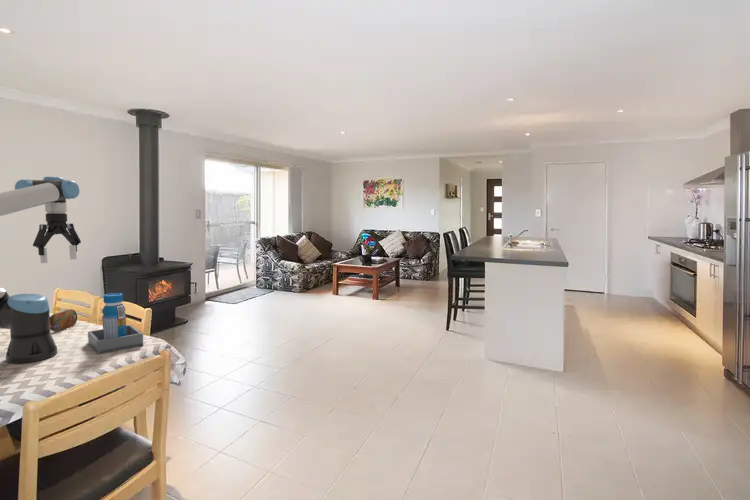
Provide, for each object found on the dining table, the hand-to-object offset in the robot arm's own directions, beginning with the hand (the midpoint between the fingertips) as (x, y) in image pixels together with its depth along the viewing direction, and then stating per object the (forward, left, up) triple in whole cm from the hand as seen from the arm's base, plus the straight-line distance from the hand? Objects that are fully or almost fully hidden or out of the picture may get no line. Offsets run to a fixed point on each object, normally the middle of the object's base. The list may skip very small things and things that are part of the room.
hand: (59, 261), depth 186 cm
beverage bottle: (-16, -31, -32) cm, 47 cm away
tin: (+8, +5, -33) cm, 34 cm away
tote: (-16, -31, -33) cm, 48 cm away
